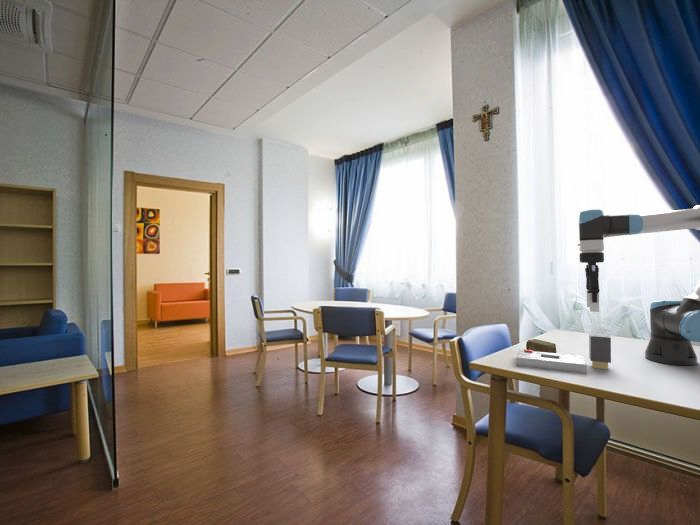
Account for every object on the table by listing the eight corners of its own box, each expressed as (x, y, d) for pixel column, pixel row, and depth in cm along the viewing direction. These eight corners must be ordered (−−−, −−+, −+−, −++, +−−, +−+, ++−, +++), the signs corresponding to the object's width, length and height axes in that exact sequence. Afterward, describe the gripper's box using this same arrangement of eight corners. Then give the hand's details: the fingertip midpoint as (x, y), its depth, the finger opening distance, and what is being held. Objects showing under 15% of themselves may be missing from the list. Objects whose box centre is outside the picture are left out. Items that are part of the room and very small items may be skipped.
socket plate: (583, 363, 137) (583, 354, 137) (586, 373, 125) (586, 362, 125) (518, 357, 147) (518, 348, 147) (516, 365, 136) (516, 355, 136)
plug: (608, 366, 133) (608, 335, 133) (611, 369, 129) (610, 337, 129) (589, 364, 136) (589, 333, 136) (590, 367, 132) (590, 336, 132)
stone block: (535, 349, 160) (535, 338, 160) (558, 355, 149) (558, 343, 149) (525, 350, 158) (525, 339, 158) (547, 357, 147) (547, 345, 147)
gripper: (577, 252, 147) (578, 305, 147) (581, 251, 125) (583, 313, 125) (600, 252, 143) (601, 305, 143) (608, 251, 122) (609, 314, 122)
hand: (592, 309), depth 134 cm, fingers open, 13 cm apart
